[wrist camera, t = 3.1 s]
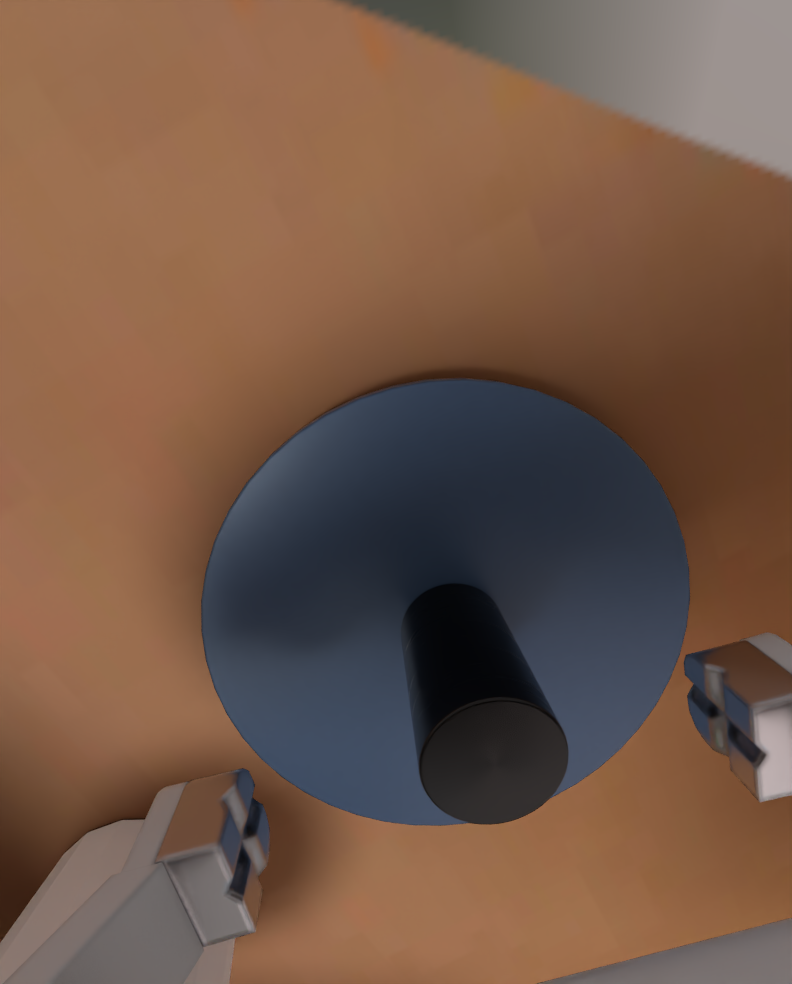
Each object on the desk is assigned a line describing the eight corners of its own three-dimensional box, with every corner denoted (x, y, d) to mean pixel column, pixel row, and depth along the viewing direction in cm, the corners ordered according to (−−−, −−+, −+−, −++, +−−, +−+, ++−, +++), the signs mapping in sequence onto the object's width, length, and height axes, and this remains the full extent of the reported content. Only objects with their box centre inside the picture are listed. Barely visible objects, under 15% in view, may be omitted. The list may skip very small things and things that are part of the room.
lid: (638, 321, 13) (845, 299, 7) (684, 736, 16) (852, 935, 11) (143, 446, 13) (-21, 517, 7) (291, 834, 16) (254, 1084, 11)
